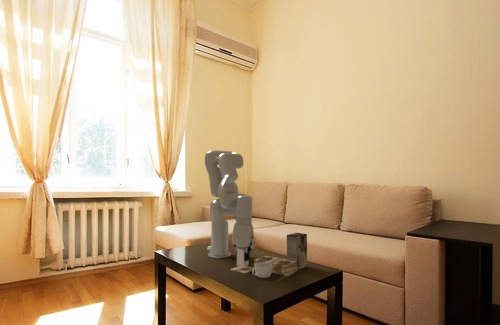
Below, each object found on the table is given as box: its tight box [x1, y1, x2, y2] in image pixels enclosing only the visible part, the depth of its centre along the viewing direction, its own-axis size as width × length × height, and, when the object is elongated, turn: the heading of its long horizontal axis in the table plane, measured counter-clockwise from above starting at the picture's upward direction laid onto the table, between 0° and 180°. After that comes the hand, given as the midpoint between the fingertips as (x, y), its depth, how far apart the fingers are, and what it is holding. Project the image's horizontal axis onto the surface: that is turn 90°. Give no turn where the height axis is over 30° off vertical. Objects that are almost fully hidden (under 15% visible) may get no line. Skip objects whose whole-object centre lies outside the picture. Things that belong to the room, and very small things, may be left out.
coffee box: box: [286, 232, 308, 271], centre depth 144 cm, size 9×6×16 cm
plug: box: [236, 245, 250, 267], centre depth 139 cm, size 4×4×10 cm
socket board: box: [253, 254, 298, 278], centre depth 138 cm, size 18×10×5 cm, turn 54°
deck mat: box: [230, 265, 255, 274], centre depth 138 cm, size 9×9×1 cm
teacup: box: [251, 262, 273, 279], centre depth 128 cm, size 10×8×5 cm
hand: (242, 259), depth 139 cm, fingers closed on plug, 4 cm apart
